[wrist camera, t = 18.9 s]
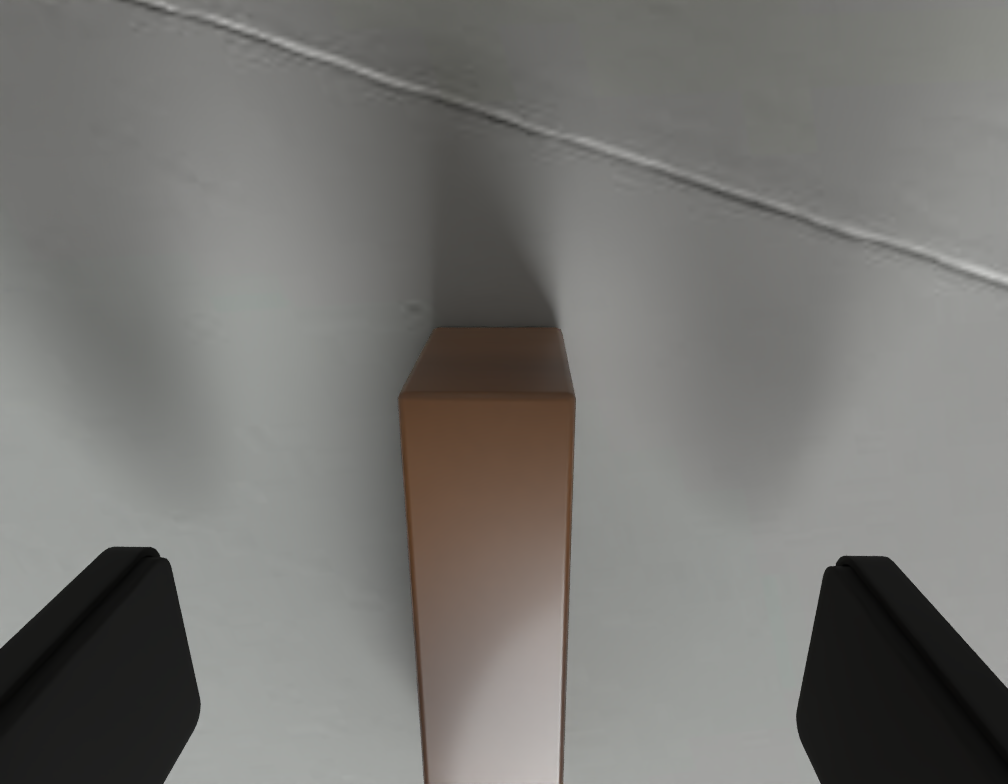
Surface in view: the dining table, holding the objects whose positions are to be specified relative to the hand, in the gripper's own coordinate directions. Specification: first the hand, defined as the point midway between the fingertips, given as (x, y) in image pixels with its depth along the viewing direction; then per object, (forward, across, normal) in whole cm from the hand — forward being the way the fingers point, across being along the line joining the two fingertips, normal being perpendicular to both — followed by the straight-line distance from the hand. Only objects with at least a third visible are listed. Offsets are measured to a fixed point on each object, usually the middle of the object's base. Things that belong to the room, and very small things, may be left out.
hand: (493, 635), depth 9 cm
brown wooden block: (+2, 0, 0) cm, 2 cm away
